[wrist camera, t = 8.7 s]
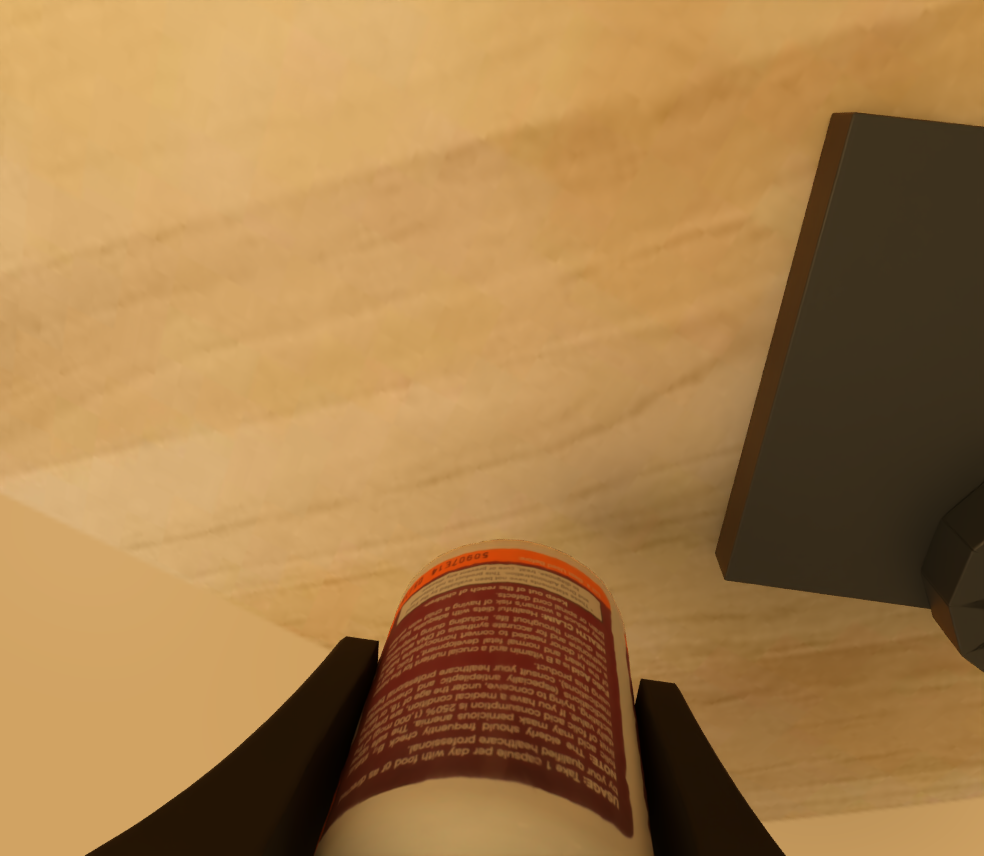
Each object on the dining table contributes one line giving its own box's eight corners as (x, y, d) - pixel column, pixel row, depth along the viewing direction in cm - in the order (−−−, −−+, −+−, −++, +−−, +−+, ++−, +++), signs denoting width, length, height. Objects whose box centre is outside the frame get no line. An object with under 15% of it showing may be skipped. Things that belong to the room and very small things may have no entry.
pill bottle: (354, 585, 15) (135, 1065, 7) (560, 495, 14) (554, 959, 6) (466, 745, 17) (381, 1288, 9) (663, 676, 15) (764, 1239, 8)
